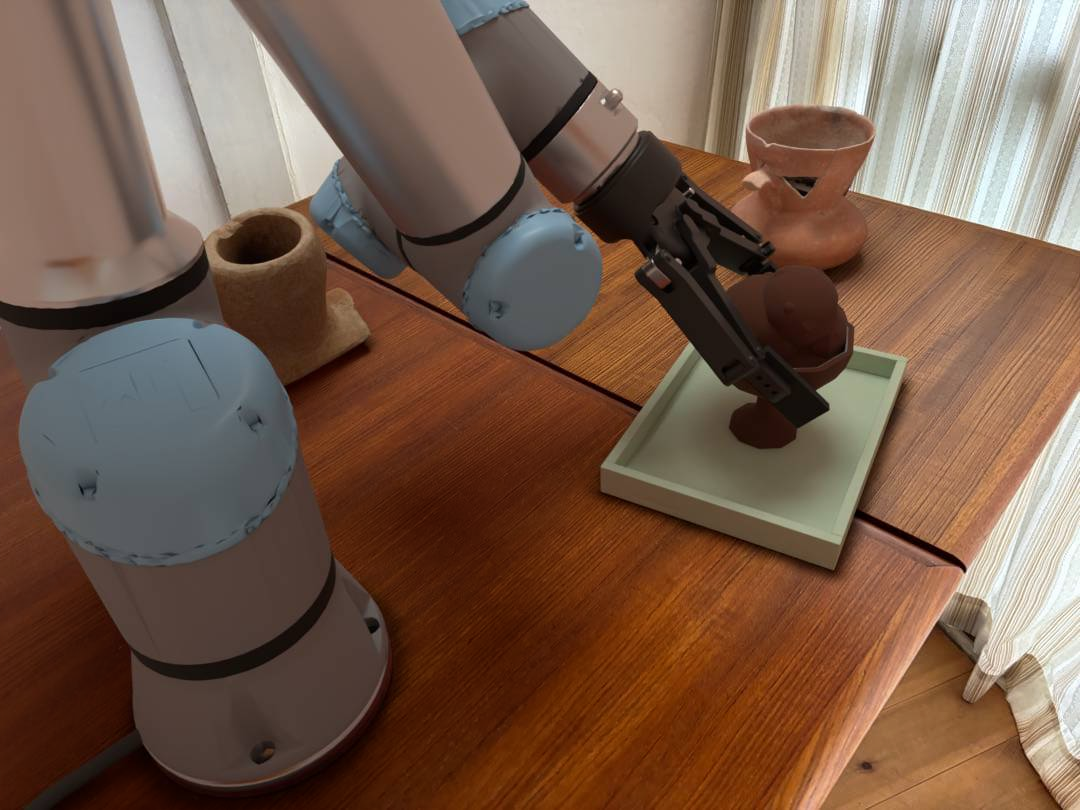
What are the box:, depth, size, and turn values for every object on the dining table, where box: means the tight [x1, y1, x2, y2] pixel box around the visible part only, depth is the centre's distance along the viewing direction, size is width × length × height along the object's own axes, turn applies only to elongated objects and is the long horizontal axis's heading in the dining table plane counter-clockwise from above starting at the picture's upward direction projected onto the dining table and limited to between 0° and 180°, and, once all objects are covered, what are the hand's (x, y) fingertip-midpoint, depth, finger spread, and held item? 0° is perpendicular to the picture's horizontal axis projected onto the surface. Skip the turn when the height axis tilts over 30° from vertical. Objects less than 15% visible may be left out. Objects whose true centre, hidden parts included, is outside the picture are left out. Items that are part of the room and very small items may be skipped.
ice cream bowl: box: [725, 265, 855, 449], centre depth 64 cm, size 11×11×15 cm
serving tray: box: [599, 341, 909, 571], centre depth 68 cm, size 24×18×3 cm
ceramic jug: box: [730, 103, 877, 271], centre depth 88 cm, size 18×14×14 cm
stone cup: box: [204, 206, 372, 387], centre depth 76 cm, size 15×12×15 cm
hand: (811, 367), depth 64 cm, fingers closed on ice cream bowl, 11 cm apart
